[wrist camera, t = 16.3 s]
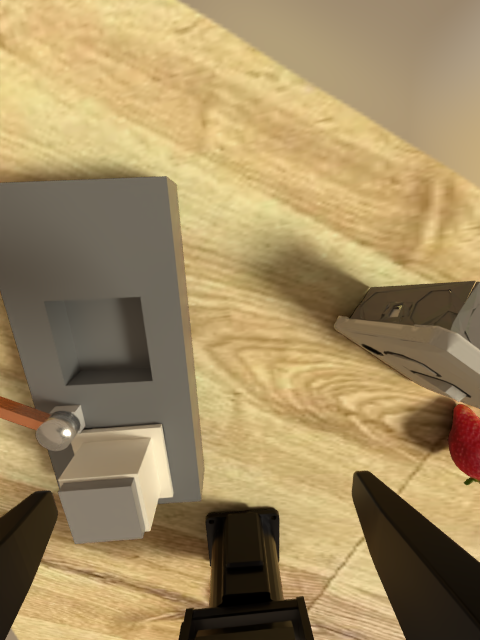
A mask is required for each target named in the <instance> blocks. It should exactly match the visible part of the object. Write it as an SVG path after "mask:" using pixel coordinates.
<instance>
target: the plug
mask: <svg viewBox="0 0 480 640" xmlns="http://www.w3.org/2000/svg"><path fill="white" fill-rule="evenodd" d="M71 445H72V448H73V451H74V457H73V458H72V460H71V461H70V463H69V464H68V466H67V467H66V469H65V470H64V472H63V473H62V475H61V476H60V478H59V479H58V481H59V484H60V487H61V488H60V489H59V491H58V494H59V497H60V500H61V503H62V506H63V509H64V512H65V515H66V518H67V521H68V525H69V528H70V531H71V534H72V537H73V540H74V543H75V544H81V543H93V542H106V541H118V540H130V539H143V536H144V532H146V531H150V530H151V526H152V522H153V519H154V515H155V511H156V507H157V503H158V499H159V498H169V497H173V493H174V492H173V487H172V481H171V475H170V469H169V463H168V457H167V451H166V445H165V440H164V434H163V428H162V424H150V425H133V426H116V427H99V428H92V429H89V430H82V431H81V433H77V435H76V436H75V438H74V439H73V440H72V442H71Z"/></svg>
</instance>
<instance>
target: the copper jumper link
mask: <svg viewBox="0 0 480 640" xmlns="http://www.w3.org/2000/svg"><path fill="white" fill-rule="evenodd" d="M0 418H2V419H5V420H8V421H11V422H14V423H17V424H20V425H22V426H25V427H28V428H31V429H34V430H37V431H36V439H37V441H38V442H39V444H40V445H41V446H43V447H44V448H46V449H48V450H52V451H60V450H63V449H65V448H67V447H68V446H69V444H70V443H71V442H72V440H73V439H74V438H75V436H76V435H77V433H78V432H79V430H80V427H81V424H80V421H79V419H78V418H77V417H76V416H75V415H74V414H73V413H71V412H68V411H63V410H61V411H56V412H54V413H52V414H48V413H46V412H43V411H40V410H37V409H34V408H32V407H29V406H26V405H23V404H20V403H18V402H15V401H12V400H9V399H6V398H4V397H1V396H0Z"/></svg>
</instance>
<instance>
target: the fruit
mask: <svg viewBox="0 0 480 640" xmlns="http://www.w3.org/2000/svg"><path fill="white" fill-rule="evenodd" d="M453 412H454V415H453V422H452V428H451V431H450V433H449V437H448V444H449V451H450V455H451V457H452V460H453V461H454V463H455V465H456V466H457V467H458V468H459V469H460V470H461V471H463V472H464V473H465V474H467V475H468V476H470V478H469V479H467V480H466V481H465V482H464V484H465V485H469V484H470V483H472V482H474V481H475V482H479V484H480V418H479V417H478V416H476V414H475V413H474V412H473V411H472V410H471V409H470V408H468V407H467V406H465V405H463V404H458V405H457V406H456V407H455V408H454V410H453Z"/></svg>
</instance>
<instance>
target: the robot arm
mask: <svg viewBox="0 0 480 640" xmlns="http://www.w3.org/2000/svg"><path fill="white" fill-rule="evenodd" d="M352 498H353V502H354V505H355V508H356V511H357V515H358V518H359V521H360V524H361V527H362V530H363V533H364V536H365V539H366V542H367V546H368V549H369V552H370V555H371V557H372V560H373V563H374V565H375V568H376V570H377V572H378V575H379V577H380V579H381V582H382V584H383V587H384V589H385V591H386V594H387V596H388V598H389V601H390V603H391V605H392V608H393V610H394V612H395V615H396V617H397V619H398V622H399V624H400V626H401V629H402V631H403V634H404V636H405V638H406V640H480V562H479V561H477V560H476V559H475V558H474V557H472V556H471V555H470V554H469V553H468V552H466V551H465V550H464V549H463V548H462V547H460V546H459V545H458V544H457V543H456V542H454V541H453V540H452V539H451V538H449V537H448V536H447V535H446V534H445V533H443V532H442V531H441V530H440V529H439V528H437V527H436V526H435V525H434V524H432V523H431V522H430V521H429V520H428V519H426V518H425V517H424V516H423V515H422V514H420V513H419V512H418V511H417V510H416V509H414V508H413V507H412V506H411V505H409V504H408V503H407V502H406V501H405V500H403V499H402V498H401V497H400V496H399V495H397V494H396V493H395V492H394V491H393V490H391V489H390V488H389V487H388V486H386V485H385V484H384V483H383V482H382V481H380V480H379V479H378V478H377V477H376V476H374V475H373V474H372V473H371V472H369V471H356V472H355V473H354V475H353V485H352ZM57 516H58V510H57V507H56V504H55V500H54V497H53V494H52V492H51V491H37V492H34V493H33V494H31V495H30V496H28V497H27V498H26V499H24V500H23V501H22V502H21V503H19V504H18V505H17V506H15V507H14V508H13V509H11V510H10V511H9V512H7V513H6V514H5V515H3V516H2V517H1V518H0V640H5V639H6V637H7V635H8V632H9V630H10V628H11V626H12V624H13V622H14V620H15V618H16V616H17V614H18V612H19V610H20V608H21V605H22V603H23V601H24V599H25V597H26V595H27V593H28V591H29V589H30V586H31V584H32V582H33V580H34V577H35V575H36V572H37V570H38V567H39V565H40V562H41V559H42V557H43V554H44V552H45V549H46V546H47V544H48V541H49V539H50V536H51V533H52V531H53V528H54V526H55V523H56V520H57ZM206 530H207V540H208V549H209V559H210V566H211V580H210V600H209V608H203V609H194V608H187V609H186V612H185V618H184V622H182V625H181V629H180V635H179V640H314V637H313V633H312V629H311V625H310V621H309V617H308V613H307V609H306V605H305V601H304V597H303V596H300V597H296V599H288V600H284V598H283V591H282V584H281V577H280V571H279V564H278V562H279V513H278V511H277V510H275V509H270V510H255V511H239V512H224V513H210V514H208V515H207V516H206Z"/></svg>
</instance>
